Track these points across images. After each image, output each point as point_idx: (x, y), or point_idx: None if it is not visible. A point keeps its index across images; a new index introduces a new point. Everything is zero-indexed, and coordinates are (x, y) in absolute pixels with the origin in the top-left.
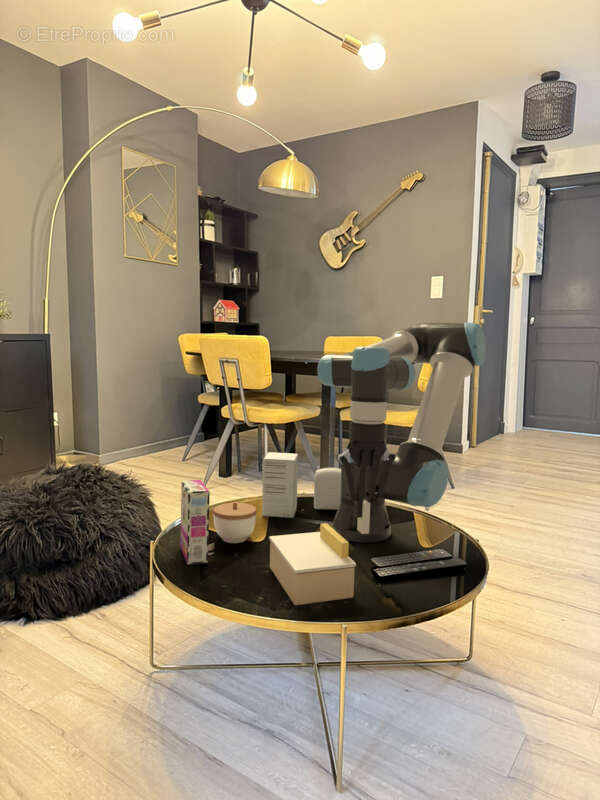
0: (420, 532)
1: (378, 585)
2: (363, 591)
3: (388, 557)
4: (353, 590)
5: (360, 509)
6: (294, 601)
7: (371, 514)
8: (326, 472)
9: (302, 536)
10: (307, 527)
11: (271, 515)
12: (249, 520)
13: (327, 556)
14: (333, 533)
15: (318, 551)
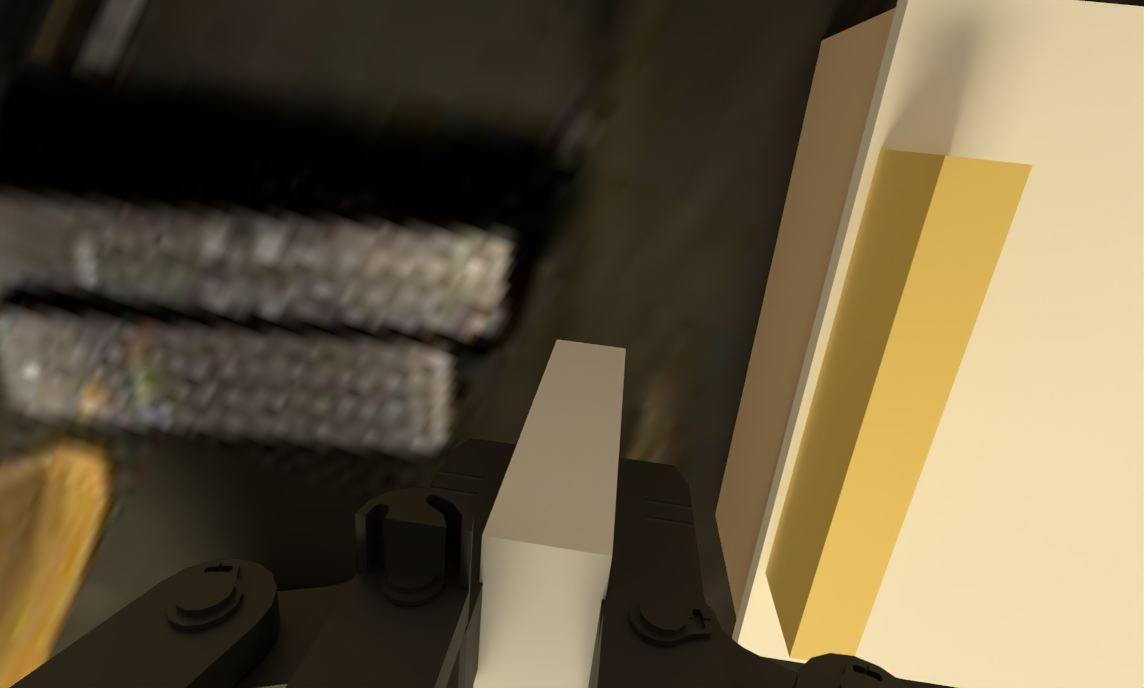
0: (47, 603)
1: (583, 133)
2: (713, 94)
3: (343, 424)
4: (838, 33)
5: (641, 526)
6: None
7: (476, 454)
8: None
9: (927, 634)
10: None
11: None
12: None
13: (1032, 234)
14: (908, 439)
15: (1022, 356)
